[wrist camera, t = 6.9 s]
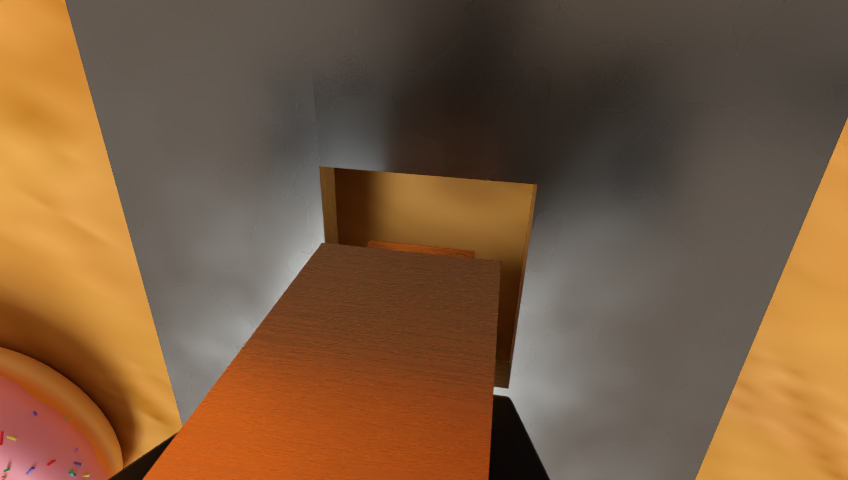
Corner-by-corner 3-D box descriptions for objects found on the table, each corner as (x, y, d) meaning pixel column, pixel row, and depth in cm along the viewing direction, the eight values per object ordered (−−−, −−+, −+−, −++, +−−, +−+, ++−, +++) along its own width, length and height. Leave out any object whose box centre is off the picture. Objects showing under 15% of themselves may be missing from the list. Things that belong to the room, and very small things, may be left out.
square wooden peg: (502, 226, 11) (452, 1121, 2) (485, 385, 13) (424, 1152, 4) (345, 211, 11) (-181, 906, 3) (352, 366, 13) (68, 1028, 5)
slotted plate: (827, -66, 10) (931, -83, 8) (648, 454, 18) (671, 534, 15) (138, -77, 13) (39, -93, 10) (233, 392, 20) (190, 454, 17)
